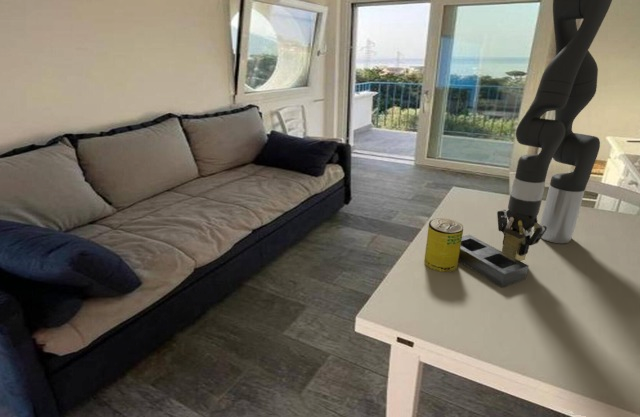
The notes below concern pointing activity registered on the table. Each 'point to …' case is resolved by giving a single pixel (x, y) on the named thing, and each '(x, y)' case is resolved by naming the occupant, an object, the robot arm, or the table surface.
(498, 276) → the cinder block
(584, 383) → the table surface
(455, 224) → the beverage can
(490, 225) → the table surface
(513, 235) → the tan banded block
